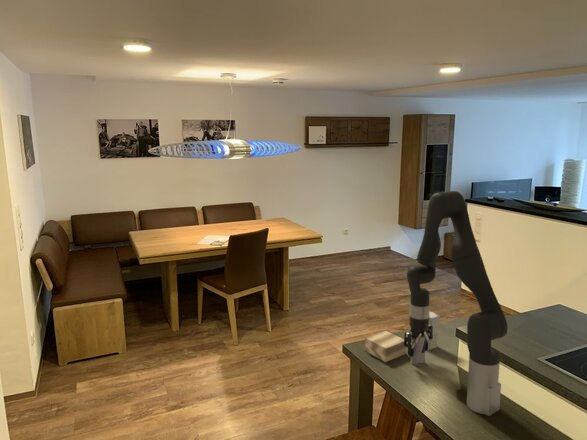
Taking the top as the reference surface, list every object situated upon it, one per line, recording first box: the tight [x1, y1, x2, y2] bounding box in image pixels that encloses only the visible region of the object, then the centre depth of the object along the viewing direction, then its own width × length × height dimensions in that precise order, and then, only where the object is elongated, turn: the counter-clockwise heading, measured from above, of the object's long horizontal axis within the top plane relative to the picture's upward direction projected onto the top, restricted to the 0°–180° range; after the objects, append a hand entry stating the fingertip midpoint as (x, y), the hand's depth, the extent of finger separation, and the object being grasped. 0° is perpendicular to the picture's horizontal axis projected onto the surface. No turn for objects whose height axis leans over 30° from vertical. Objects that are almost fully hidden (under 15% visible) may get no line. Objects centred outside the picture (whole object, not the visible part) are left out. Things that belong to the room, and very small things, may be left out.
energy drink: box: [410, 335, 426, 367], centre depth 176 cm, size 5×5×12 cm
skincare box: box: [427, 310, 441, 351], centre depth 190 cm, size 8×6×15 cm
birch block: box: [364, 330, 407, 363], centre depth 185 cm, size 12×12×6 cm
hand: (418, 353), depth 176 cm, fingers open, 8 cm apart
